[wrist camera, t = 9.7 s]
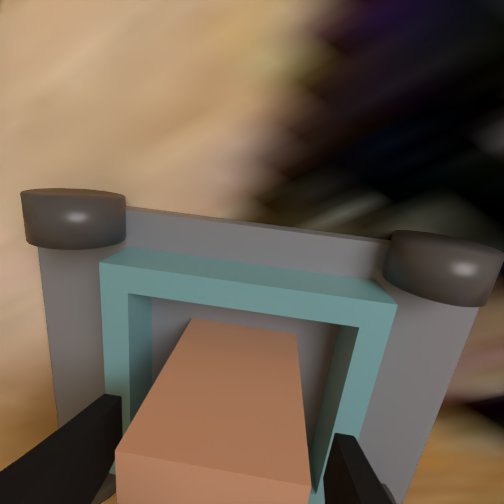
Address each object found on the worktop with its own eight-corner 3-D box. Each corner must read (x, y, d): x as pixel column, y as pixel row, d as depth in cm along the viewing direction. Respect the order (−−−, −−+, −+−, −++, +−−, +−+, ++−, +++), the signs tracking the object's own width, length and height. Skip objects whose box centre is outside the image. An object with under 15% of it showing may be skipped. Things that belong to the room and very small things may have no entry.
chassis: (487, 240, 11) (568, 268, 8) (393, 492, 15) (422, 575, 12) (46, 183, 12) (-34, 189, 9) (71, 435, 16) (22, 498, 13)
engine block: (295, 333, 12) (311, 486, 6) (280, 416, 13) (281, 604, 8) (192, 317, 12) (115, 450, 6) (187, 400, 13) (119, 571, 8)
